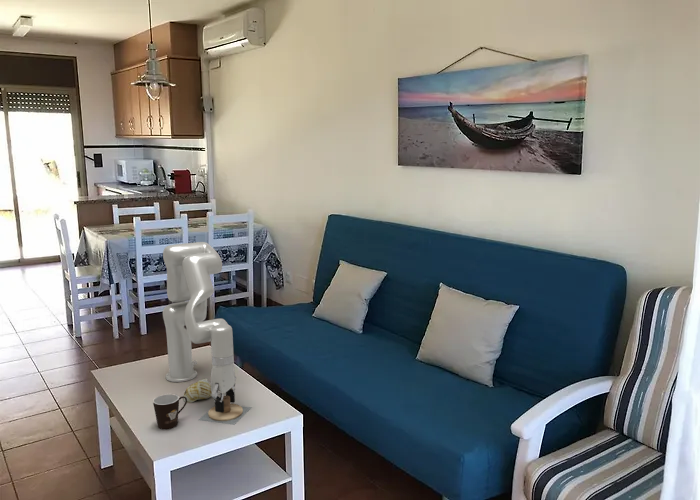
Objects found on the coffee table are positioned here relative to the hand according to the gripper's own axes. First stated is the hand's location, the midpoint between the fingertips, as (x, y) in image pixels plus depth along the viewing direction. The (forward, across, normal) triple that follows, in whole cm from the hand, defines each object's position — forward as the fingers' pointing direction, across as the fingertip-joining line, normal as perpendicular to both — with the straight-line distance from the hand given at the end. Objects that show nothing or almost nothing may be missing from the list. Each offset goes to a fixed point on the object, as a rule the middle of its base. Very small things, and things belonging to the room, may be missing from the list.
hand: (225, 406), depth 210 cm
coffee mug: (+3, +12, -14) cm, 19 cm away
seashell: (+4, -10, -16) cm, 20 cm away
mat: (+3, 0, 0) cm, 3 cm away
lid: (+3, 0, 0) cm, 3 cm away
